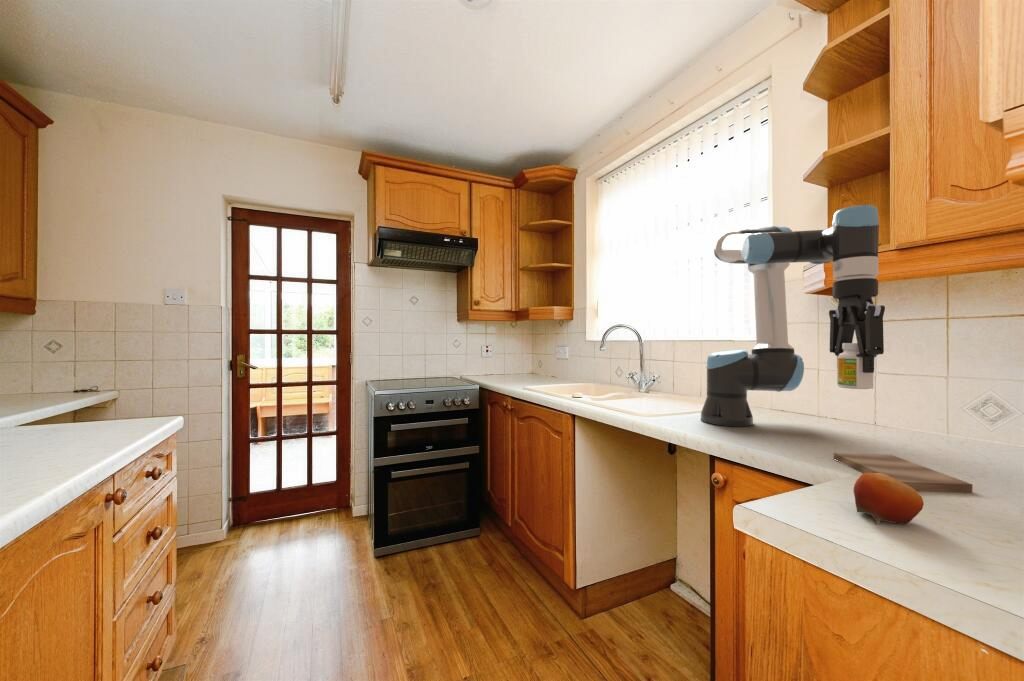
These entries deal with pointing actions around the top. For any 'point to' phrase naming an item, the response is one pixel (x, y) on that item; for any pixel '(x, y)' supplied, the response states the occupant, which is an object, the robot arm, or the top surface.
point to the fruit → (886, 498)
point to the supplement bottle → (847, 366)
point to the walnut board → (904, 472)
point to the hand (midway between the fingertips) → (854, 386)
